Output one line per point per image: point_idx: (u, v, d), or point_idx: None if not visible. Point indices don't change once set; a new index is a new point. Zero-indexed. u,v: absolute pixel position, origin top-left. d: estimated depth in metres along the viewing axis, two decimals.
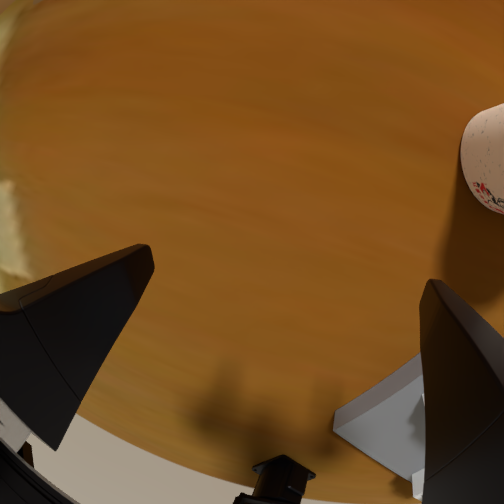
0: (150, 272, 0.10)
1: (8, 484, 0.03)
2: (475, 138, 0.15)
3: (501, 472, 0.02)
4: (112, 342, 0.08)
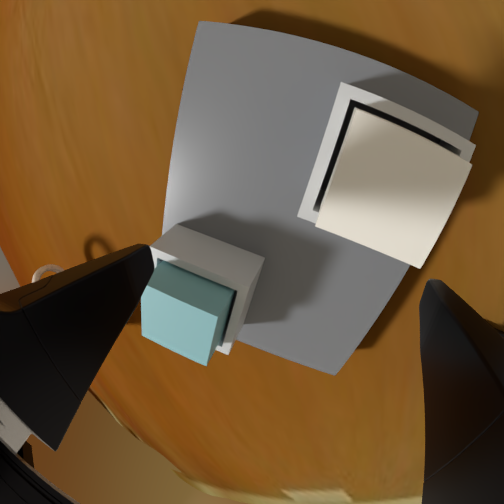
0: (150, 272, 0.10)
1: (8, 484, 0.03)
2: None
3: (501, 472, 0.02)
4: (112, 341, 0.09)
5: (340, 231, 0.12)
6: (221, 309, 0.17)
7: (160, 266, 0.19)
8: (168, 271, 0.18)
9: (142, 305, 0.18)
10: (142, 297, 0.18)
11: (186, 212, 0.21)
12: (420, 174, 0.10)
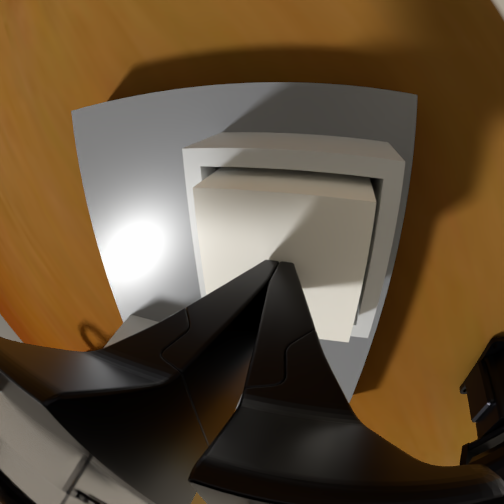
0: None
1: (8, 484, 0.03)
2: None
3: None
4: None
5: None
6: None
7: None
8: None
9: None
10: None
11: (134, 303, 0.19)
12: (300, 240, 0.08)
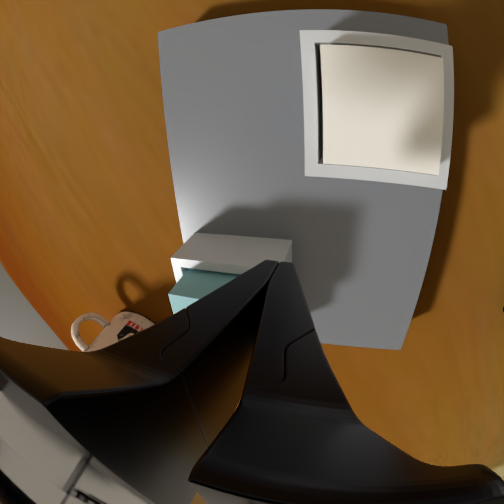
0: None
1: (8, 484, 0.03)
2: None
3: None
4: None
5: (348, 160, 0.11)
6: None
7: (186, 275, 0.18)
8: (195, 277, 0.18)
9: None
10: (174, 310, 0.17)
11: (201, 217, 0.20)
12: (399, 82, 0.09)
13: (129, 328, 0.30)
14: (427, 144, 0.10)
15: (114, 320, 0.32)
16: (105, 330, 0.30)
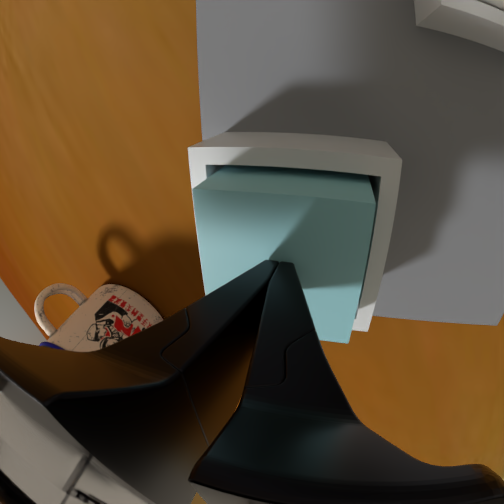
0: None
1: (8, 484, 0.03)
2: None
3: None
4: None
5: None
6: (372, 195, 0.08)
7: (223, 170, 0.10)
8: (240, 172, 0.10)
9: (202, 247, 0.09)
10: (199, 226, 0.09)
11: (239, 105, 0.12)
12: None
13: (112, 305, 0.22)
14: None
15: (93, 295, 0.23)
16: (80, 308, 0.22)
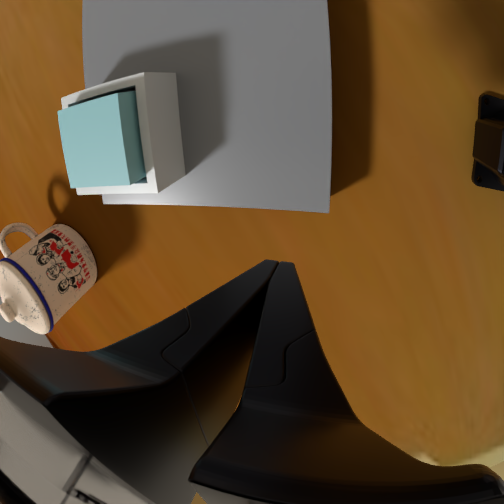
0: None
1: (8, 484, 0.03)
2: None
3: None
4: None
5: None
6: (124, 92, 0.13)
7: None
8: None
9: (62, 140, 0.15)
10: (60, 129, 0.14)
11: (101, 75, 0.17)
12: None
13: (52, 234, 0.26)
14: None
15: None
16: (31, 240, 0.26)
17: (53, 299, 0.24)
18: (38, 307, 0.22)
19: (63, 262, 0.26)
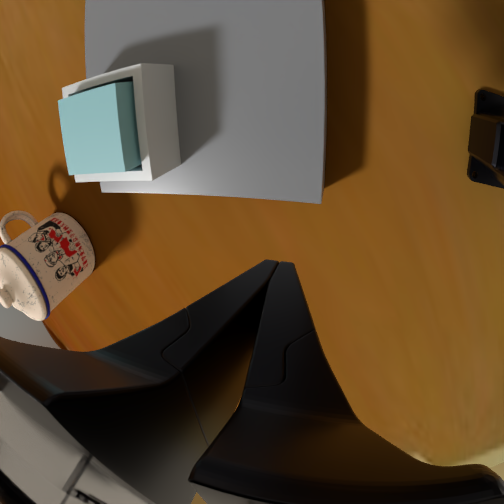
0: None
1: (8, 484, 0.03)
2: None
3: None
4: None
5: None
6: (122, 82, 0.13)
7: None
8: None
9: (62, 128, 0.15)
10: (60, 118, 0.14)
11: (102, 66, 0.17)
12: None
13: (51, 223, 0.27)
14: None
15: None
16: None
17: (50, 286, 0.24)
18: (35, 293, 0.23)
19: (61, 250, 0.26)
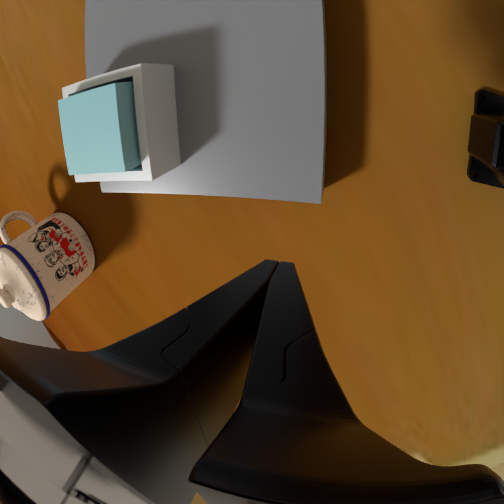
0: None
1: (8, 484, 0.03)
2: None
3: None
4: None
5: None
6: (122, 82, 0.13)
7: None
8: None
9: (62, 128, 0.15)
10: (60, 117, 0.14)
11: (102, 66, 0.17)
12: None
13: (51, 223, 0.27)
14: None
15: None
16: None
17: (50, 286, 0.24)
18: (35, 293, 0.23)
19: (61, 250, 0.26)
